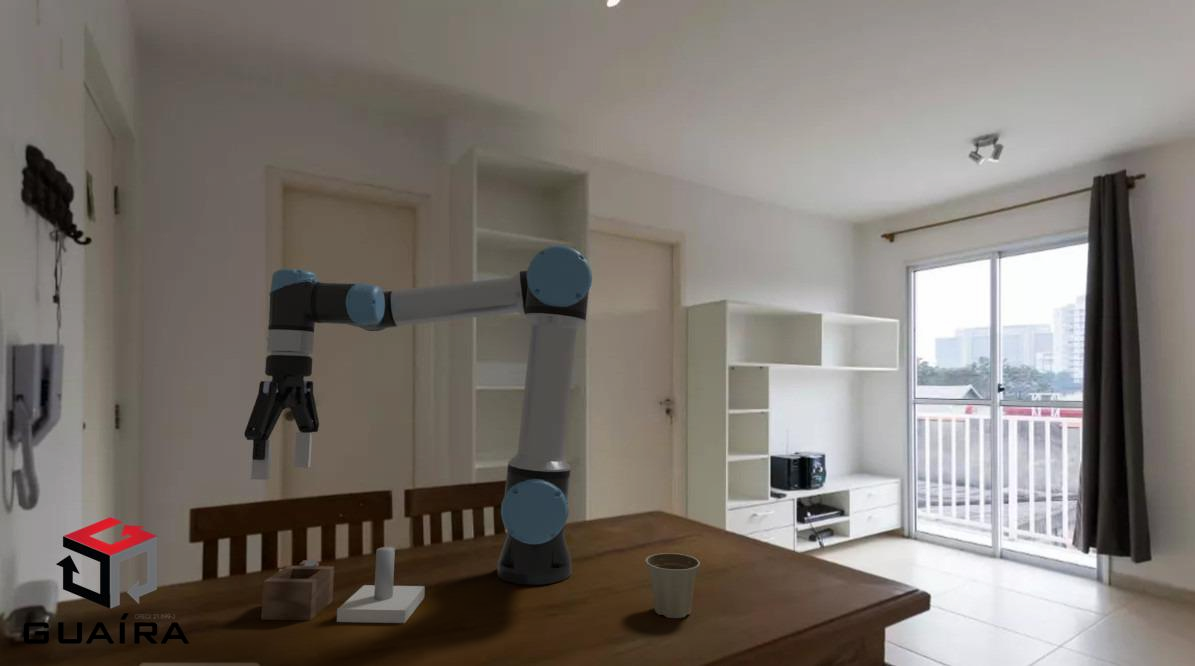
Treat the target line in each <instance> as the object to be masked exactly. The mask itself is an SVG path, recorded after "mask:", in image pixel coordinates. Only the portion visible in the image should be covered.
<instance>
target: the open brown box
mask: <svg viewBox="0 0 1195 666" xmlns="http://www.w3.org/2000/svg"><path fill="white" fill-rule="evenodd" d="M282 569H283V570H281V571H280V572H279V571H278V572H276V573H274V574H272V575H271V576H270V577H268V578H267V579H264V580H263V583H262V597H261V598H262V601H261V603H262V604H261V612H260V613H261V615H260V617H261V618H260V619H261V620H271V621H272V620H276V621H277V620H278V621H279V620H281V621H283V620H284V621H286V620H288V621H289V620H290V621H312V620H313V619H314V617H316V616H317V615H318V614H319V613H321V611H323V610H324V609H325V608H327V607H328V606H329V605H330V604H331V603H333V597H334V596H333V592H334V577H335V575H334V574H335V566H327V565H326V566H325V565H324V566H323V565H321V566H320V565H318V566H300V565H288V566H286V567H284V568H282Z"/></svg>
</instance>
